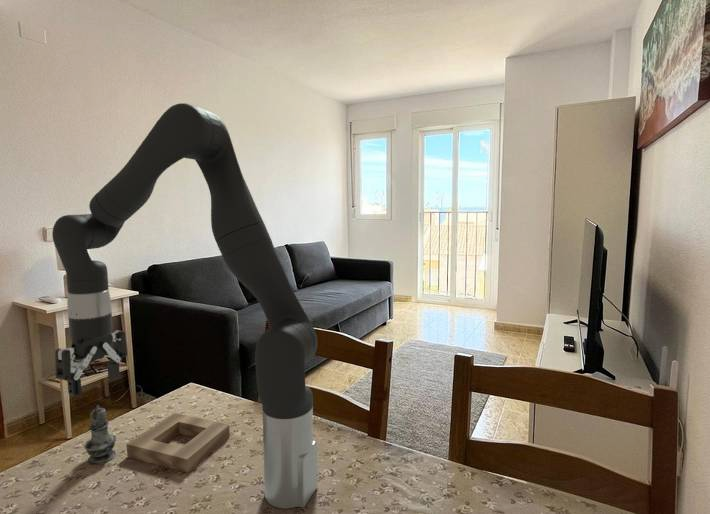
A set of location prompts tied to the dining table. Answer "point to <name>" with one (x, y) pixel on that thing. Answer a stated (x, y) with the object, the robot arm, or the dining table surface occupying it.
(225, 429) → the tan picture frame
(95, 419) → the grey tall tiered piece
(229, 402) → the dining table surface
